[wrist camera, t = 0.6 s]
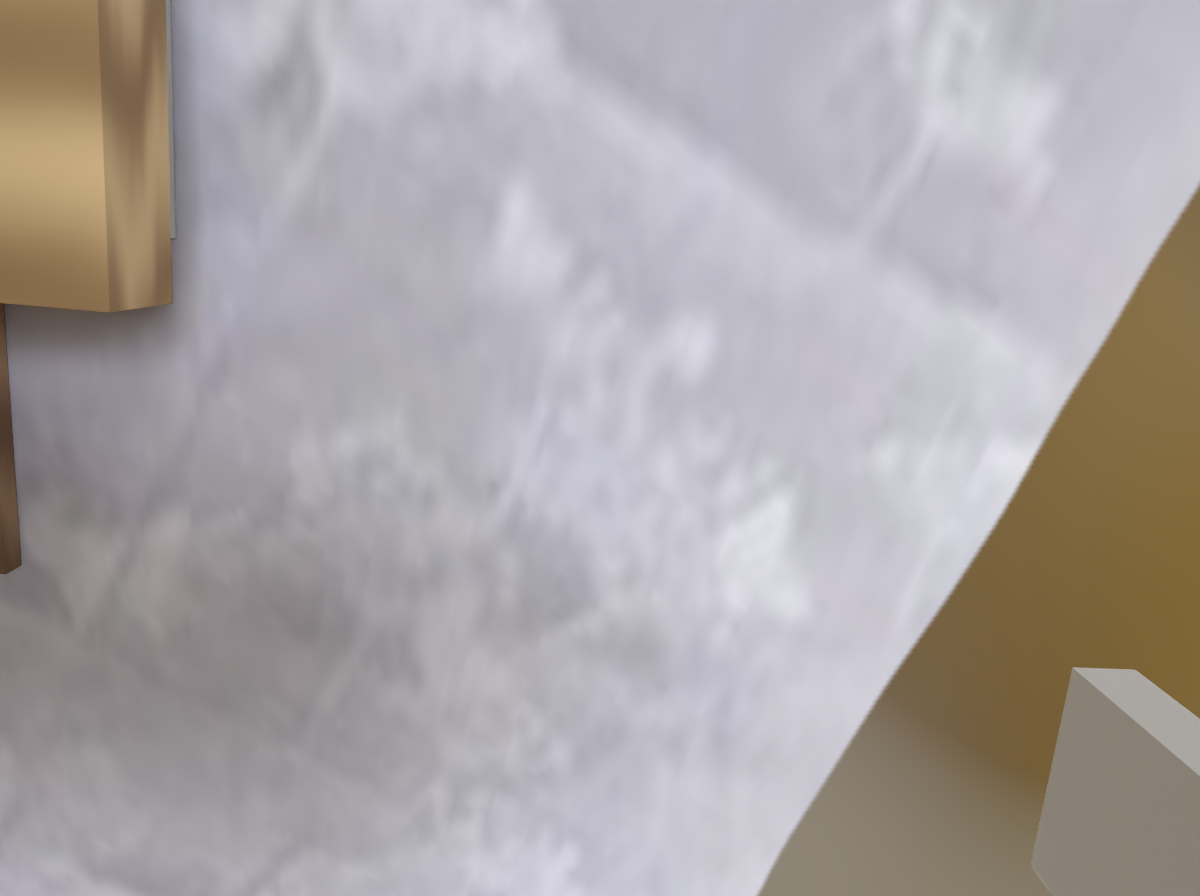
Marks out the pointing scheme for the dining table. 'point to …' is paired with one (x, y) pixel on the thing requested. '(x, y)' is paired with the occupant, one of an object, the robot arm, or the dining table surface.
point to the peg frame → (7, 468)
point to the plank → (84, 154)
